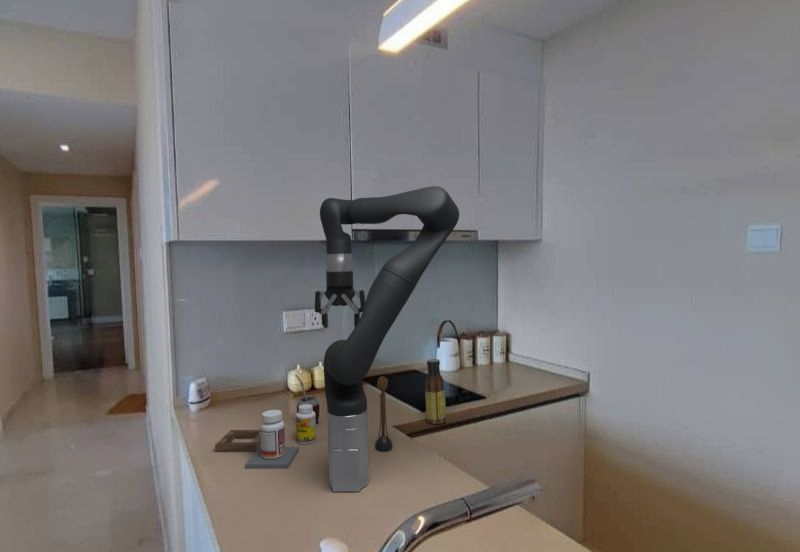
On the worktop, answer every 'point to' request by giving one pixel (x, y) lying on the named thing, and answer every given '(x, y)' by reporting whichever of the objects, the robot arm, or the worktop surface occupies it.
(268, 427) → the pill bottle
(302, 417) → the supplement bottle
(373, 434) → the worktop surface
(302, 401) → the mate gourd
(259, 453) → the mat
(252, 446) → the socket block
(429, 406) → the sauce bottle
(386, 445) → the wooden tabletop sculpture
